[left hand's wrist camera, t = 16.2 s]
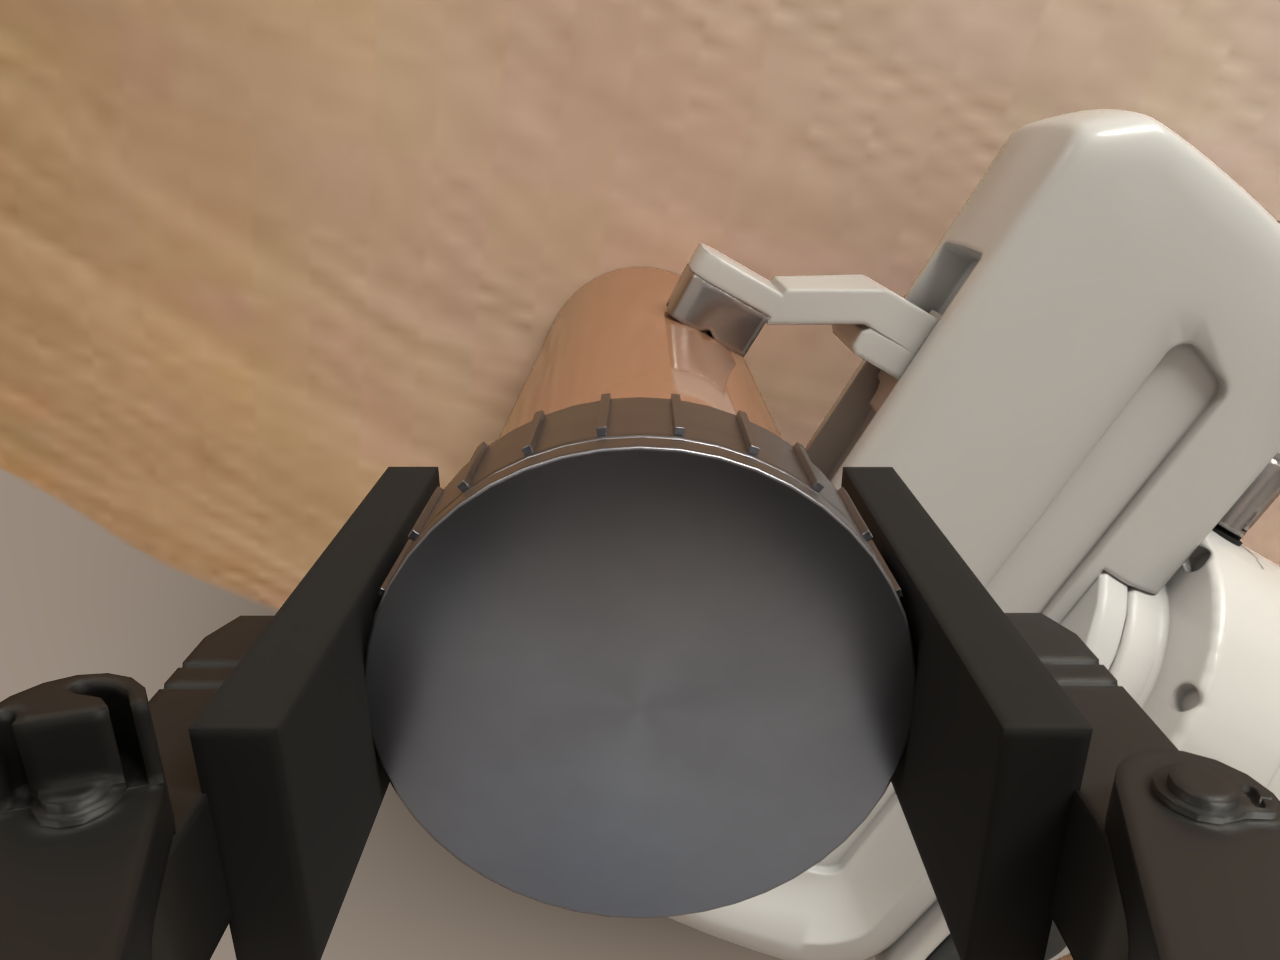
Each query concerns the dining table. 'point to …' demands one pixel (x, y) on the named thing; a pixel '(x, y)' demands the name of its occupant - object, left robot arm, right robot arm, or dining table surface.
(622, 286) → the jar
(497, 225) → the dining table surface
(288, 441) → the dining table surface
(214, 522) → the dining table surface
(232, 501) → the dining table surface
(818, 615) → the lid
